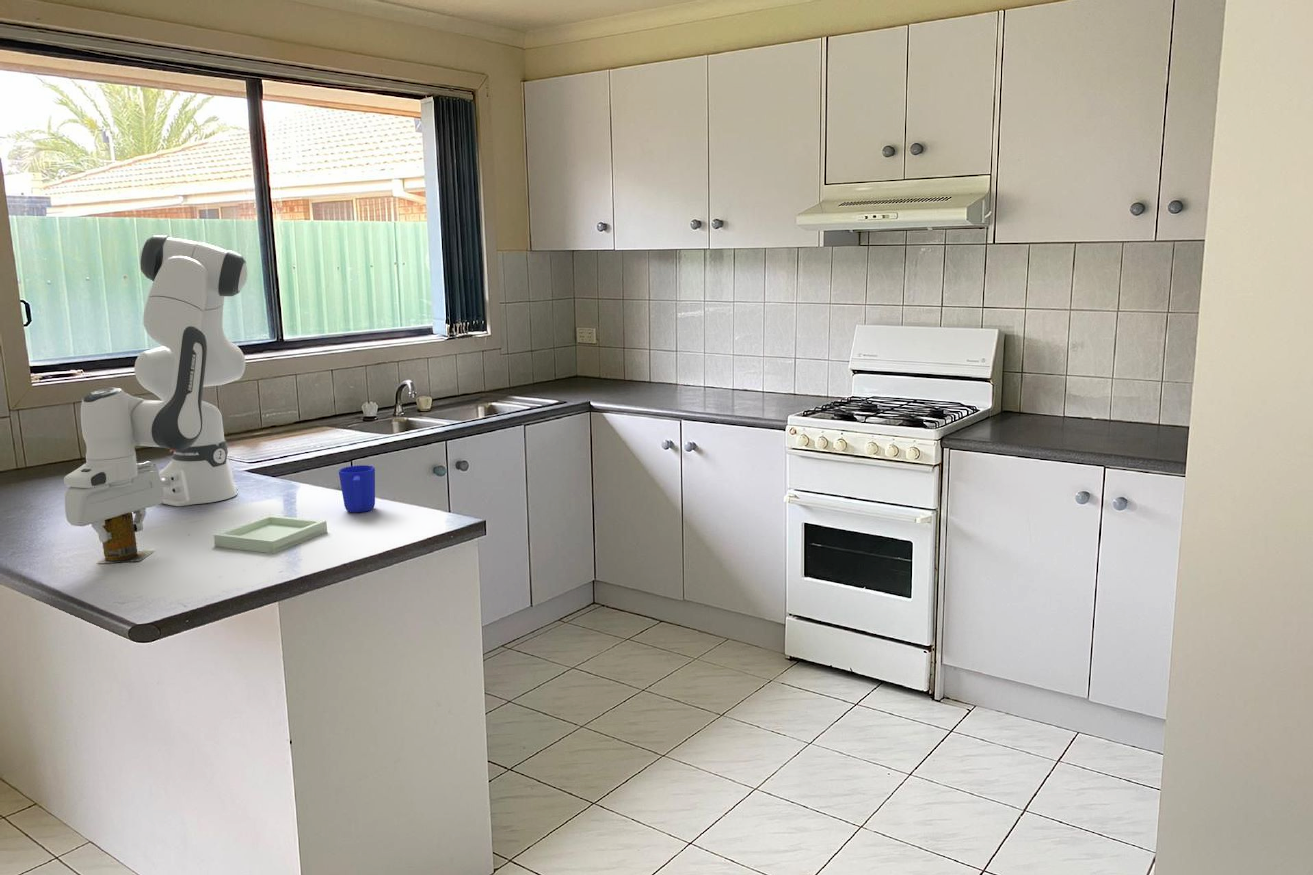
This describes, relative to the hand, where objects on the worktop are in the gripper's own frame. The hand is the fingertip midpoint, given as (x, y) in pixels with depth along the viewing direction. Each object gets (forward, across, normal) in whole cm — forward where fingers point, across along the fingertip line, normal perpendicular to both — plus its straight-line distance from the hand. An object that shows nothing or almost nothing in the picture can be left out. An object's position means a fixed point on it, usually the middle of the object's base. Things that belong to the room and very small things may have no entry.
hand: (121, 536), depth 203 cm
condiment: (+5, 0, 0) cm, 5 cm away
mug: (+5, -44, +24) cm, 50 cm away
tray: (+5, -20, +20) cm, 29 cm away
